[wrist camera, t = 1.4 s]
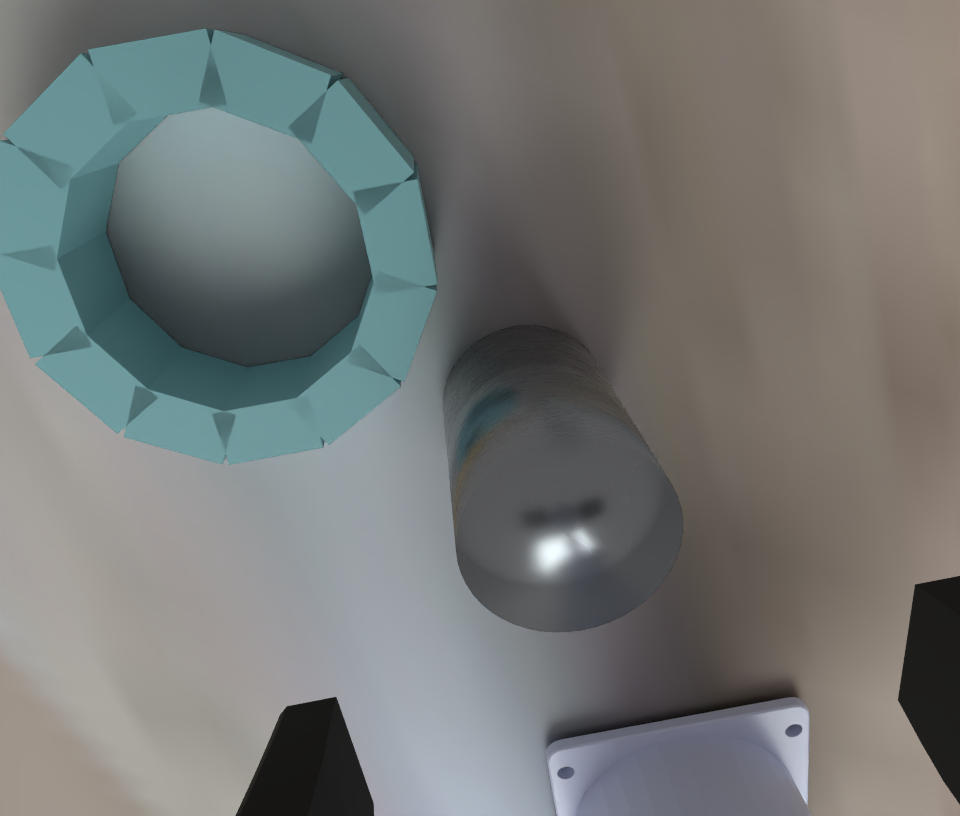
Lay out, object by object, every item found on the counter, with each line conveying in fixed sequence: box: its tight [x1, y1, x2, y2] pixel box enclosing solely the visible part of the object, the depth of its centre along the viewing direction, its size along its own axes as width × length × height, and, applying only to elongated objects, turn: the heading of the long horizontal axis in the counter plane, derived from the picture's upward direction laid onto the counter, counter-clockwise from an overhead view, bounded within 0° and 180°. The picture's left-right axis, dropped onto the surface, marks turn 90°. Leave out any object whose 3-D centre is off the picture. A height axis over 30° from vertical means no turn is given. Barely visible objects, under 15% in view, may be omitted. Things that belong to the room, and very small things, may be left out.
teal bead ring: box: [0, 28, 438, 465], centre depth 16 cm, size 8×8×2 cm
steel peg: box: [443, 326, 683, 632], centre depth 16 cm, size 4×4×6 cm
